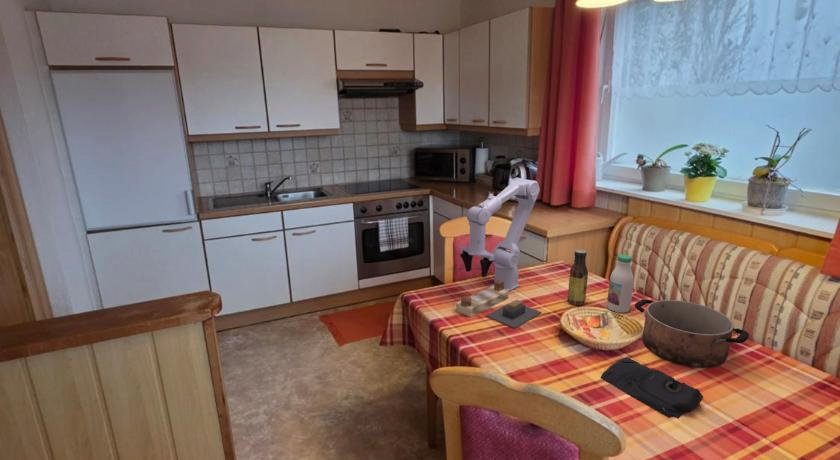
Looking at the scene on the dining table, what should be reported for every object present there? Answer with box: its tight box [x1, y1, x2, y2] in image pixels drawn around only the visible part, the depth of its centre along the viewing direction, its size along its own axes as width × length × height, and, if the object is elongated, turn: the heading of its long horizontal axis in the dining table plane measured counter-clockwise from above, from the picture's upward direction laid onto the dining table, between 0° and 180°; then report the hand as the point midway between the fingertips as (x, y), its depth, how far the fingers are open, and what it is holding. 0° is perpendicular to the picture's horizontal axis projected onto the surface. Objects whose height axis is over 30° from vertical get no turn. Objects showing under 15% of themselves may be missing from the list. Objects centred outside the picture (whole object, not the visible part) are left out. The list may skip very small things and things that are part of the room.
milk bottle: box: [606, 253, 634, 314], centre depth 160 cm, size 8×8×20 cm
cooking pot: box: [634, 298, 750, 369], centre depth 136 cm, size 30×22×11 cm
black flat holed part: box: [600, 357, 704, 419], centre depth 118 cm, size 15×22×5 cm
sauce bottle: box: [567, 249, 589, 306], centre depth 165 cm, size 7×6×20 cm
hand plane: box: [455, 280, 510, 318], centre depth 166 cm, size 22×7×6 cm, turn 133°
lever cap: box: [502, 299, 527, 319], centre depth 157 cm, size 7×4×4 cm, turn 134°
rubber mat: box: [485, 303, 542, 330], centre depth 158 cm, size 16×12×1 cm
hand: (476, 273), depth 170 cm, fingers open, 7 cm apart
